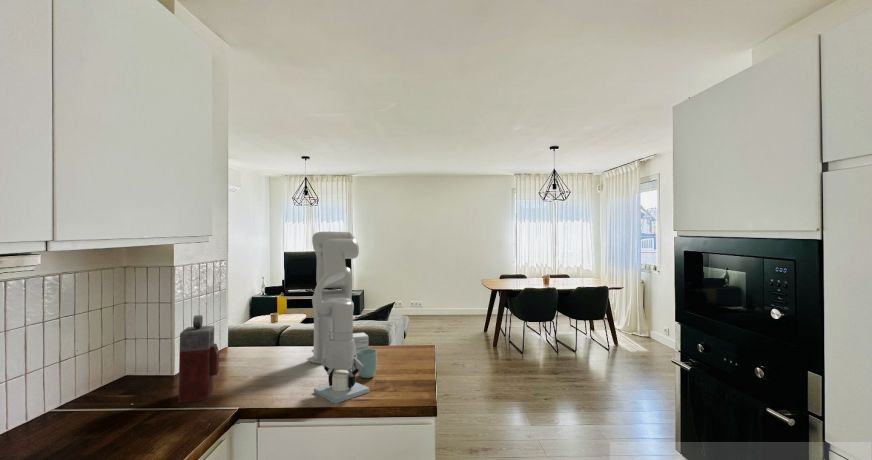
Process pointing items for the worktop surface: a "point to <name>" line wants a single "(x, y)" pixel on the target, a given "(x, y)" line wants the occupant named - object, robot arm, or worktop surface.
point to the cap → (340, 380)
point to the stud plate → (340, 392)
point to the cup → (367, 362)
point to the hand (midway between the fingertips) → (341, 385)
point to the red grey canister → (197, 361)
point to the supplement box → (360, 341)
